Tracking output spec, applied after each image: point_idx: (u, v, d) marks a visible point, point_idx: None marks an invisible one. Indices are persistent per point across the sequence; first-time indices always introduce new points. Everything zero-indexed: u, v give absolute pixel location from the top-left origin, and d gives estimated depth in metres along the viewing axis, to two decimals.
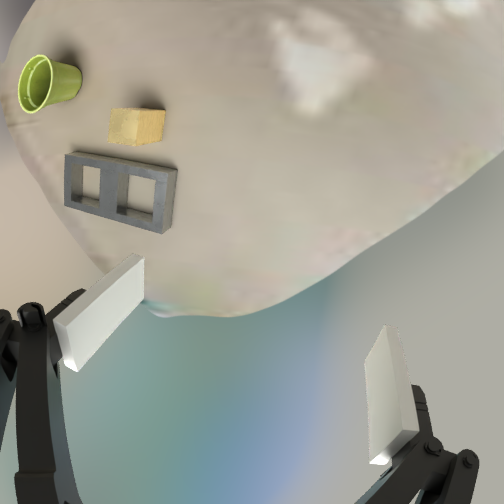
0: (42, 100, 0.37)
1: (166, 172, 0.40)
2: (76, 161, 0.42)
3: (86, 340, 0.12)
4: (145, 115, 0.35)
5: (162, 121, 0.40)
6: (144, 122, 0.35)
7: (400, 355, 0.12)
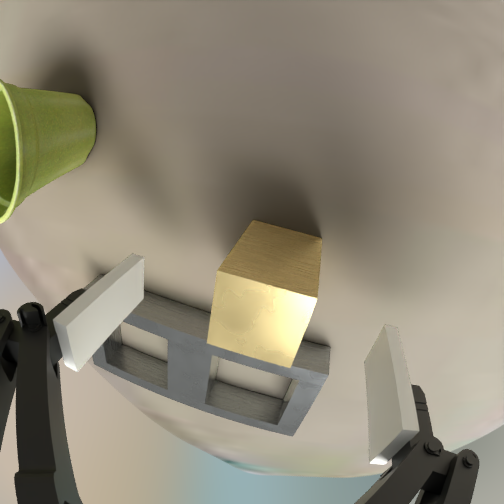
0: (13, 176, 0.18)
1: (322, 369, 0.20)
2: None
3: (86, 340, 0.12)
4: None
5: None
6: None
7: (400, 355, 0.12)
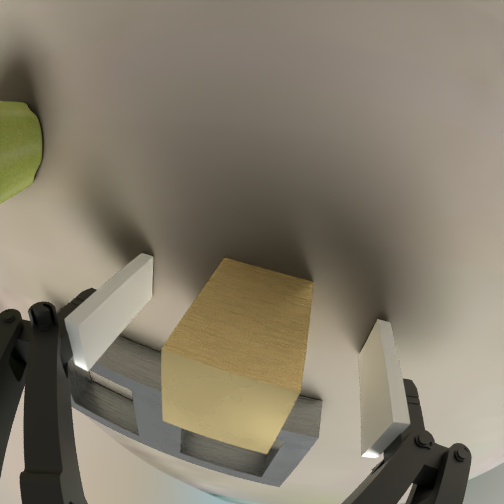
0: None
1: (311, 430, 0.16)
2: None
3: (97, 339, 0.12)
4: None
5: None
6: None
7: (392, 349, 0.13)
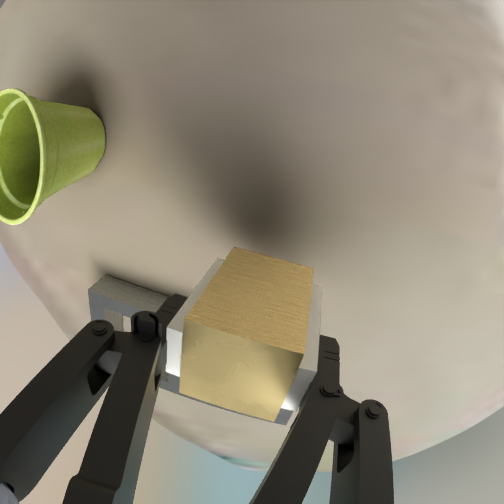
0: (28, 181, 0.20)
1: None
2: (114, 307, 0.24)
3: None
4: None
5: None
6: None
7: (316, 308, 0.15)
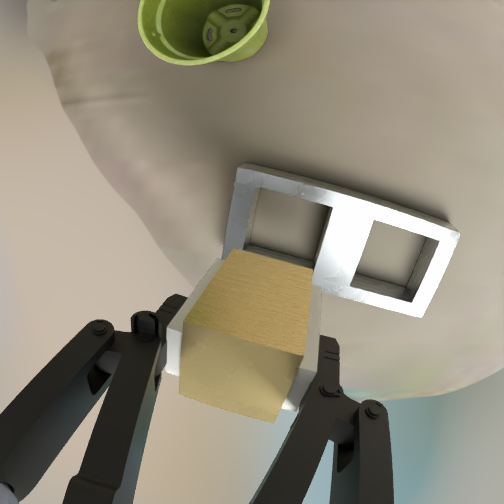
0: (187, 49, 0.20)
1: (454, 230, 0.23)
2: (269, 185, 0.25)
3: None
4: None
5: None
6: None
7: (316, 308, 0.15)
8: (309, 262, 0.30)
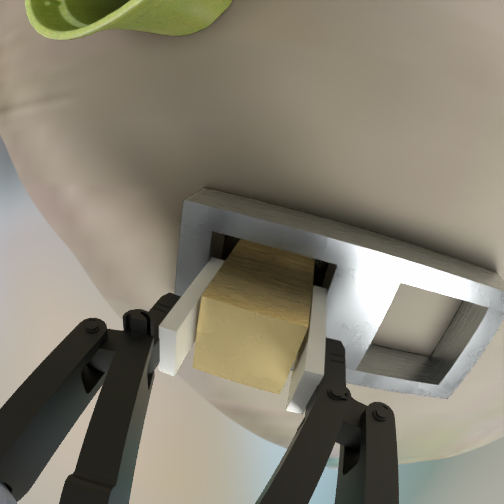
0: None
1: None
2: (234, 229, 0.15)
3: (184, 344, 0.13)
4: None
5: None
6: None
7: (321, 310, 0.15)
8: None
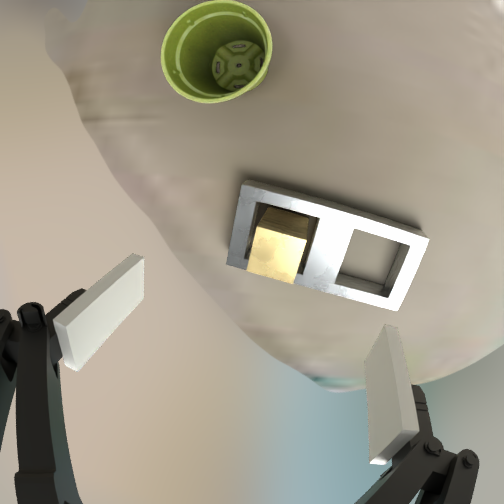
0: (200, 83, 0.26)
1: (424, 236, 0.29)
2: (268, 199, 0.30)
3: (86, 340, 0.12)
4: None
5: None
6: None
7: (400, 355, 0.12)
8: (300, 263, 0.35)
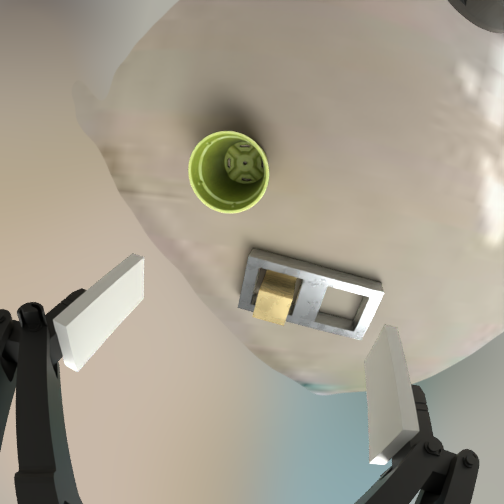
0: (217, 186, 0.39)
1: (380, 290, 0.42)
2: (267, 266, 0.44)
3: (86, 340, 0.12)
4: None
5: None
6: None
7: (400, 355, 0.12)
8: (291, 305, 0.48)
